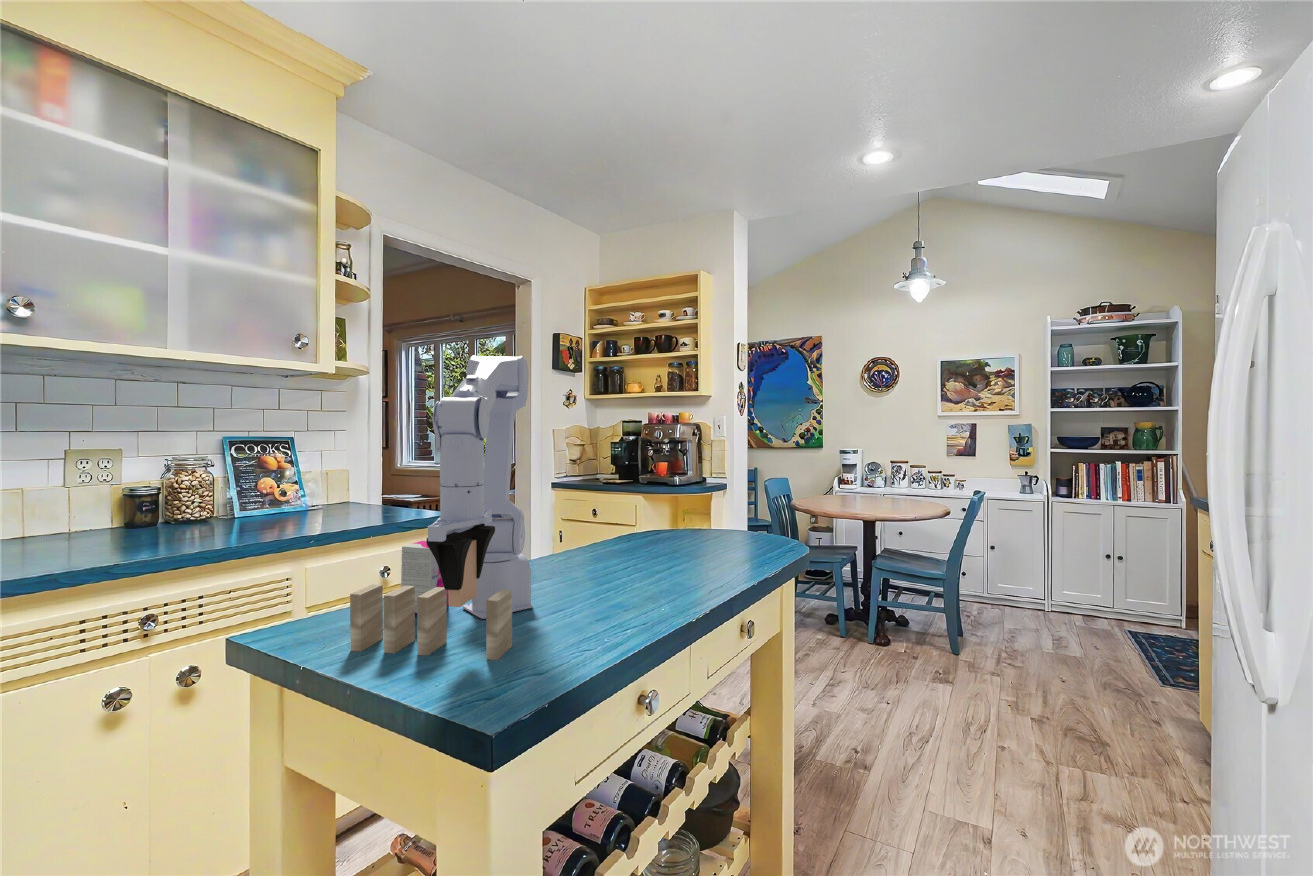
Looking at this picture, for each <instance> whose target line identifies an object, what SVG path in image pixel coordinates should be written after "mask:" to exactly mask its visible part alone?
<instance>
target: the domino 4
mask: <svg viewBox="0 0 1313 876" xmlns="http://www.w3.org/2000/svg"><path fill="white" fill-rule="evenodd" d="M448 596H449V607H451V608H461V607H463V605H466V603H467V604H468V602H470V601H472V599H473V598H474V597H476V596H477V562H476V540H472V542H471V545H470V547H469V550H468V553H467V556H466V561H465V568H464V578H463V584H462V588H461V589H460V590H448ZM449 607H448V608H449Z"/></svg>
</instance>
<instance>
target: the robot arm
mask: <svg viewBox="0 0 1313 876" xmlns="http://www.w3.org/2000/svg"><path fill="white" fill-rule="evenodd" d="M528 364H529V363H528V360H527V359H526V358H525V356H523V355H519V356H478V355H472V356H470V357H469V359H468V360H467V364H466V365H467V366H466V377H465V379H463V380H462V381H461V382H460V383H459V384H458V386H457V387H456V389H455V390H454V391H453V393H452V394H451V395H450V397H442V398H441V400H438V401H437V400H436V402H435V404H434V407H433V411H432V412H433V413H432V426H433V427H432V428H433V433H434V435H435V436H434V437H435V448H436V452H439V510H440V512H439V514H440V515H439V518H437V519H436V521H434V522H433V523H432V524H430V525H428V526H427V537H426V541H427V546H428V548H429V549H430V550H431V552H432V554H433V555H434V557H435V559H436V562H437V564H438V567H439V570H440V574H441V577H442V581H443V585H444V588H445V590H460V589H461V588H462V584H463V578H464V568H465V561H466V556H467V553H468V550H469V547H470V545H471V542H472V540H476V562H477V596H476V597H474V598H473V599H471V603H467V604H464V605H462V609H463V610H465V611H467V612H469V613H471V614H472V615H474V616H475V617H478V618H479V619H482V620H484V619H486V600H488V599H489V598H490V597H492V596H493V595H495V594H496V593H498V592H499V591H501V590H511V591H512V613H515V612H519V611H523V610H529V609H532V608H534V604H533V603H532V570H531V569H532V568H531V565H530V561H529V559H528V557H527V556H526V555H525V554H523V551H524V549H525V542H526V538H525V537H526V531H525V530H526V529H525V515H524V513H523V510H522V508H520V507H519V506H517V505H516V504H515V503H514V502H512V501H511V500H510V493H511V492H510V490H511V477H512V474H511V473H512V461H513V460H512V458H513V457H512V456H513V444H514V443H513V442H514V428H515V427H514V425H515V420H516V416H517V412H518V411H520V410H521V409H522V408H524V407H526V406H527V400H528V392H529V365H528ZM484 440H485V441H484ZM484 442H485V444H484ZM484 445H485V446H484ZM484 447H485V448H484ZM484 450H485V452H484Z"/></svg>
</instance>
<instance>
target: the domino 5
mask: <svg viewBox="0 0 1313 876" xmlns="http://www.w3.org/2000/svg"><path fill="white" fill-rule="evenodd" d="M485 622H486V623H485V624H486V626H485V630H486V631H485V632H486V633H485V634H486V636H485V640H486V644H485V645H486V646H485V647H486V651H485V652H486V653H485V654H486V655H485V657H486V660H488V659H490V660H491V661H499V660H500V659H501V658H502V657H503V656H504V655H505V654H506V653H507V652H508V651H509V650H510V649H511V648H512V647H513V612H512V591H511V590H501V591H499V592H498V593H496V594H495V595H493V596H492V597H490V598H489V599H488V600H486V620H485ZM509 648H510V649H509ZM505 652H506V653H505Z"/></svg>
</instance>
